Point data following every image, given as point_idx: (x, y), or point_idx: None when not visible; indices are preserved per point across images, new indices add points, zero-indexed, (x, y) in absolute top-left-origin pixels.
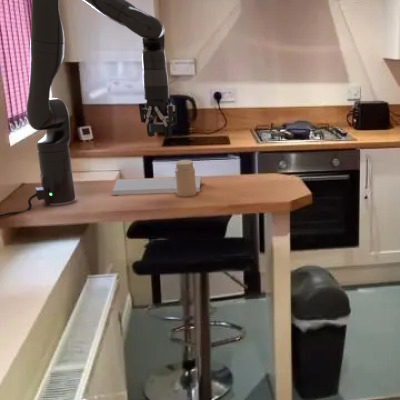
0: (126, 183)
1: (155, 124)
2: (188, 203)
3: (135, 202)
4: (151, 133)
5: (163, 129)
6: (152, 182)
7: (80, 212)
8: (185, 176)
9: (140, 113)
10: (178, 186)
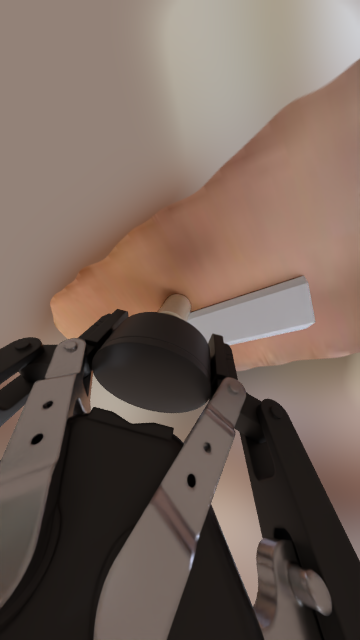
0: (288, 313)
1: (129, 343)
2: (147, 262)
3: (238, 243)
4: (210, 348)
5: (112, 333)
6: (241, 325)
7: (356, 94)
8: (161, 308)
9: (320, 495)
10: (179, 300)
